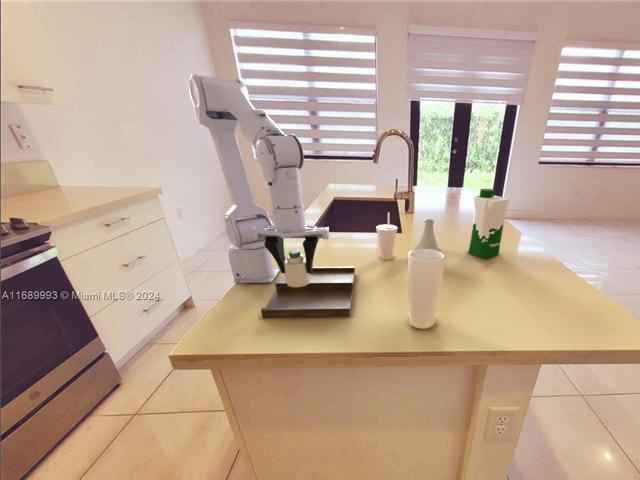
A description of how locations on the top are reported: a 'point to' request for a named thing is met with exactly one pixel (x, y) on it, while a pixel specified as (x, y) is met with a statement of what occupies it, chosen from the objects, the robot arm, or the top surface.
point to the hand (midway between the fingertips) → (296, 271)
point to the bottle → (296, 269)
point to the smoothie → (386, 239)
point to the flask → (428, 237)
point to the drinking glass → (424, 286)
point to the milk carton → (487, 224)
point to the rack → (314, 295)
